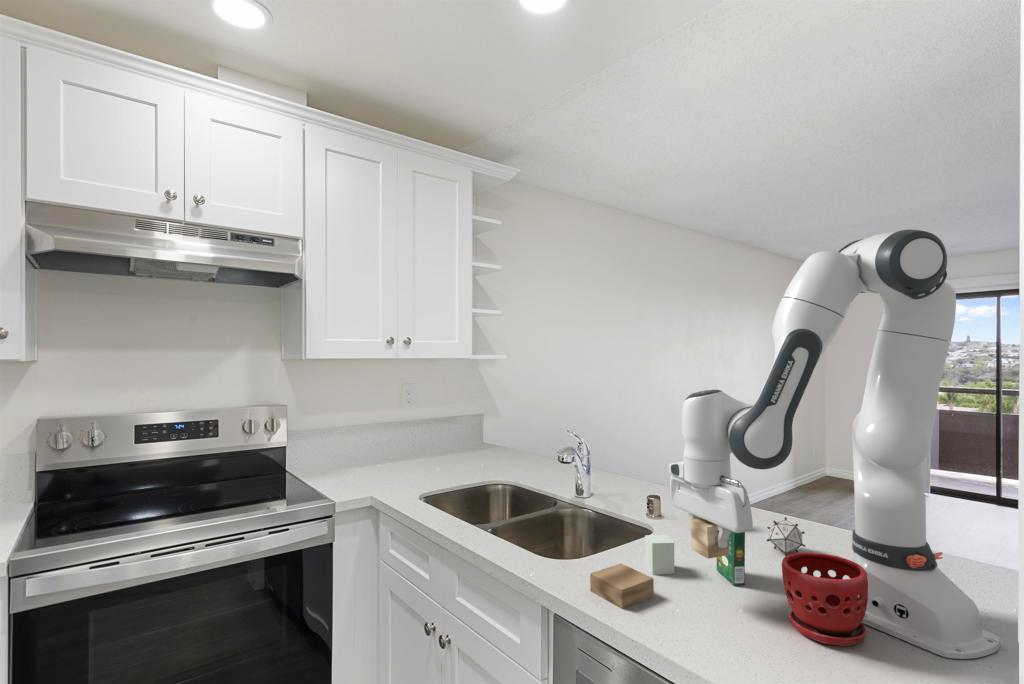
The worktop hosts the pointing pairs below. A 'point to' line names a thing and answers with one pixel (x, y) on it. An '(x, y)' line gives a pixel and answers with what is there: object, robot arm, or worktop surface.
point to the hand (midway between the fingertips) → (709, 541)
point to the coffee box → (734, 560)
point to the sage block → (659, 554)
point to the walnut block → (621, 585)
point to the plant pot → (826, 597)
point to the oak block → (706, 539)
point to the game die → (785, 536)
